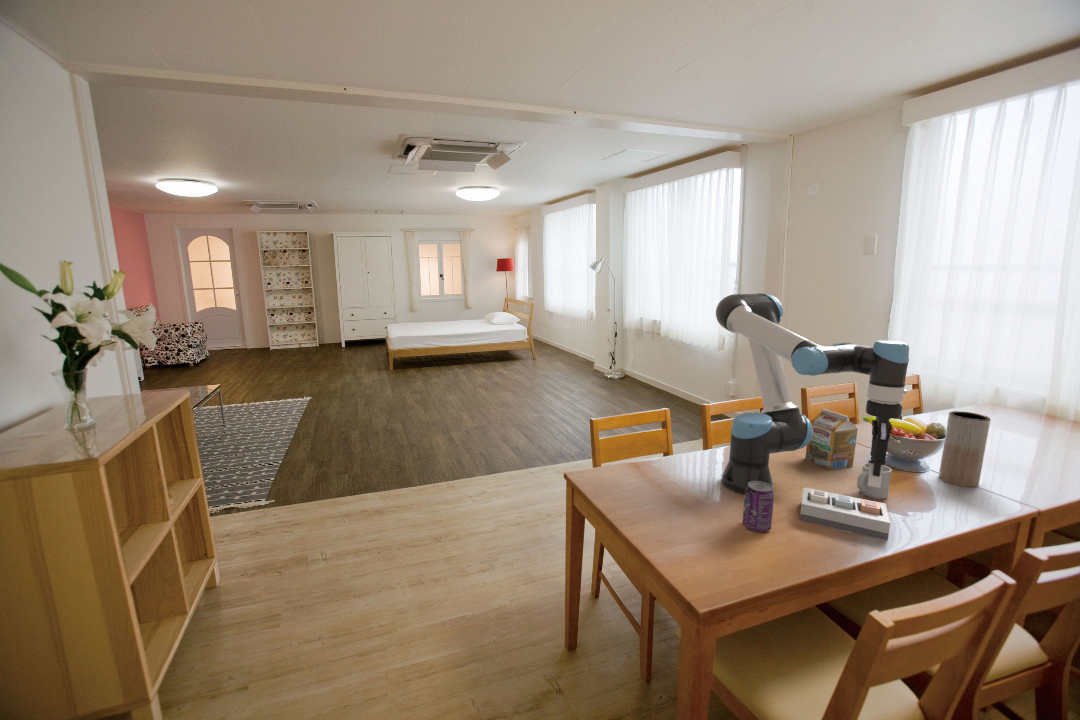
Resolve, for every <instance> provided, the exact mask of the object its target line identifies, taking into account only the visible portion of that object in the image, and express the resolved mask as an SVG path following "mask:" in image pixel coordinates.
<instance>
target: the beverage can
mask: <svg viewBox="0 0 1080 720" xmlns="http://www.w3.org/2000/svg"><path fill="white" fill-rule="evenodd" d="M773 489H774V486H773V487H772V486H771V485H770V484H768V483H765V482H761V481H751V482H748V486H747V488H746V489H745V494H744V501H743V511H742V512H743V514H742V524H743V526H745V527H746V528H748V529H750V530H752V531H754V532H759V533H760V532H768V531H770V530H771V529H772V523H773V522H772V521H773V513H774V503H775V502H774V500H775V492H774V490H773Z"/></svg>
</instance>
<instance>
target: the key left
mask: <svg viewBox="0 0 1080 720" xmlns="http://www.w3.org/2000/svg"><path fill="white" fill-rule="evenodd" d="M810 489H811V497H810V501H814V502H819V503H823V504H827V492H828V491H825V492H823V491H824V490H820V491H818V490H819V489H815V490H813V489H814V488H810Z"/></svg>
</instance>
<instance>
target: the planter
mask: <svg viewBox="0 0 1080 720" xmlns="http://www.w3.org/2000/svg"><path fill="white" fill-rule="evenodd" d="M990 424H991V418H990V417H989V416H988V415H985V414H981V413H976V412H971V411H963V410H962V411H961V410H953V411H949V413H948V419H947V423H946V429H945V430H946V431H945V434H944V435H945V436H944V443H943V449H942V453H941V454H942V455H941V461H940V466H939V473H938V477H939V478H940V479H941V480H942V481H944V482H946V483H949V484H952V485H955V486H959V487H966V488H976V487H978V486H979V485H980V480H981V475H982V469H983V463H984V457H985V453H986V446H987V441H988V436H989V430H990Z"/></svg>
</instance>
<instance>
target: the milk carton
mask: <svg viewBox="0 0 1080 720" xmlns="http://www.w3.org/2000/svg"><path fill="white" fill-rule="evenodd" d="M810 422H811V425H812V429H813V434H812V438H811V440H810V441H809V443H808V445H807V446H806V447H805V449H806V450H805V460H806V461H809V462H812V463H814V464H816V465H817V466H821V467H822V468H825V469H828V470H829V471H831V470H832V471H833V470H839V469H844V468H851V467H854V460H855V453H856V444H857V436H858V427H857V426H856V425H855V424H853V423H852V422H851V421H850V420H849V417H848V415H844V414H841V413H838V412H834V411H832V410H827V409H824V408H822V409H821V410H820V412H819V413H817V415H815V416H814V417H813V418H811V420H810Z"/></svg>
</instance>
